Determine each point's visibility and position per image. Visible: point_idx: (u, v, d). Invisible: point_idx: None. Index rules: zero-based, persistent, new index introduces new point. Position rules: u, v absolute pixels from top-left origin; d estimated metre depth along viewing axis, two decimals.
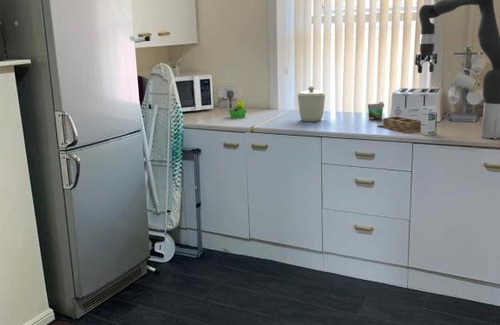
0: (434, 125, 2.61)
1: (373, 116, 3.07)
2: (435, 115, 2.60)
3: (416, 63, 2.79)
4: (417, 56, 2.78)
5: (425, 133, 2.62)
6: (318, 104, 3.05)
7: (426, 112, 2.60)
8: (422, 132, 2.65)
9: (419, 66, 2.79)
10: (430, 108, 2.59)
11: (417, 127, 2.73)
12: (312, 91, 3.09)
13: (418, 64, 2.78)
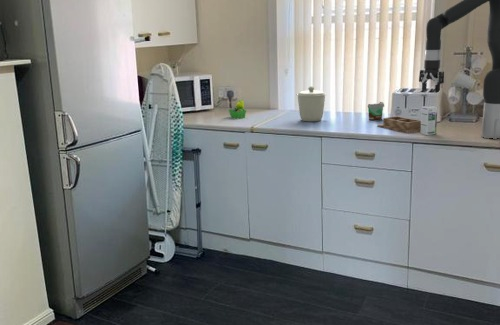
0: (434, 125, 2.61)
1: (373, 116, 3.07)
2: (435, 115, 2.60)
3: (441, 81, 2.52)
4: (442, 74, 2.51)
5: (425, 133, 2.62)
6: (318, 104, 3.05)
7: (426, 112, 2.60)
8: (422, 132, 2.65)
9: (439, 84, 2.54)
10: (430, 108, 2.59)
11: (417, 127, 2.73)
12: (312, 91, 3.09)
13: (443, 82, 2.52)
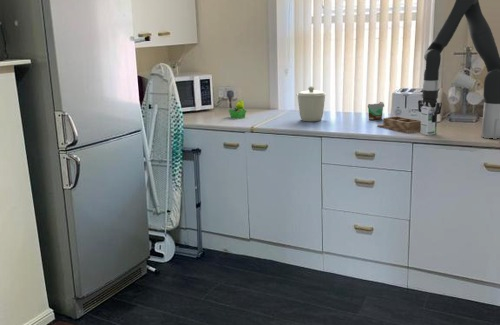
0: (434, 125, 2.61)
1: (373, 116, 3.07)
2: None
3: (438, 112, 2.56)
4: (440, 105, 2.55)
5: (425, 133, 2.62)
6: (318, 104, 3.05)
7: (426, 112, 2.60)
8: (422, 132, 2.65)
9: (436, 115, 2.58)
10: (430, 108, 2.59)
11: (417, 127, 2.73)
12: (312, 91, 3.09)
13: None
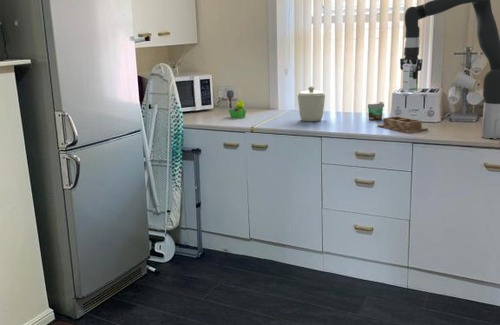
0: (415, 82, 2.68)
1: (373, 116, 3.07)
2: None
3: (419, 69, 2.63)
4: (420, 61, 2.62)
5: (407, 89, 2.69)
6: (318, 104, 3.05)
7: (407, 69, 2.67)
8: (404, 89, 2.72)
9: (417, 72, 2.66)
10: (411, 65, 2.66)
11: (417, 127, 2.73)
12: (312, 91, 3.09)
13: None
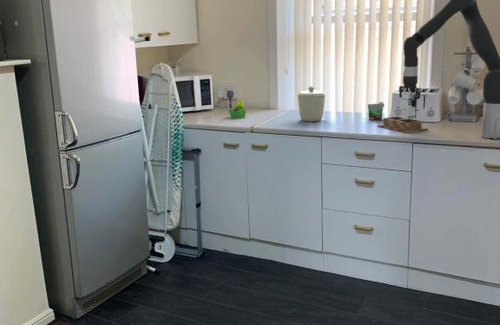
0: (414, 110, 2.72)
1: (373, 116, 3.07)
2: None
3: (417, 97, 2.67)
4: (419, 90, 2.66)
5: (406, 117, 2.73)
6: (318, 104, 3.05)
7: (406, 97, 2.70)
8: (403, 116, 2.76)
9: (416, 100, 2.69)
10: (410, 93, 2.69)
11: (417, 127, 2.73)
12: (312, 91, 3.09)
13: (419, 98, 2.68)
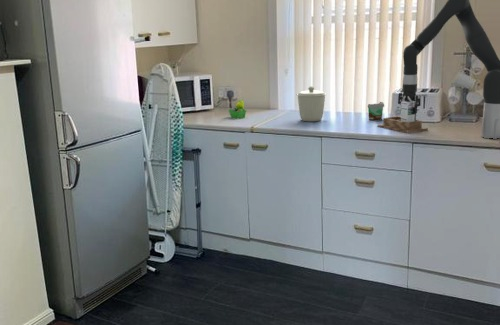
0: (413, 119, 2.74)
1: (373, 116, 3.07)
2: None
3: (418, 104, 2.67)
4: (419, 97, 2.67)
5: None
6: (318, 104, 3.05)
7: (406, 107, 2.72)
8: None
9: None
10: (409, 103, 2.71)
11: (417, 127, 2.73)
12: (312, 91, 3.09)
13: None
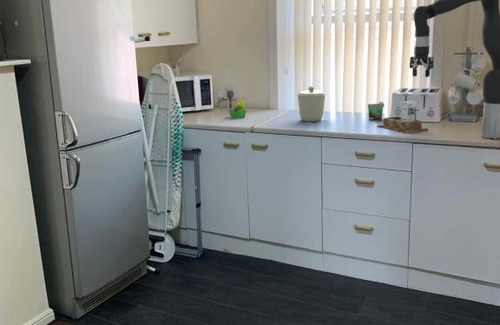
0: (413, 119, 2.74)
1: (373, 116, 3.07)
2: (415, 110, 2.73)
3: (431, 66, 2.63)
4: (431, 59, 2.63)
5: None
6: (318, 104, 3.05)
7: (406, 107, 2.72)
8: None
9: (429, 69, 2.66)
10: (409, 103, 2.71)
11: (417, 127, 2.73)
12: (312, 91, 3.09)
13: None
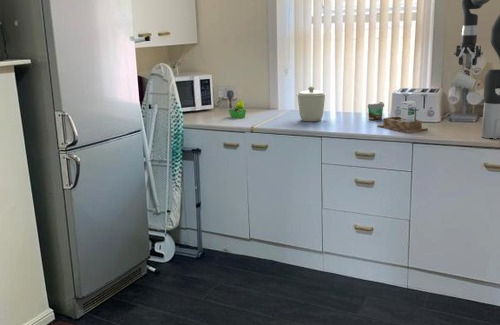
0: (413, 119, 2.74)
1: (373, 116, 3.07)
2: (415, 110, 2.73)
3: (478, 55, 2.68)
4: (479, 47, 2.68)
5: None
6: (318, 104, 3.05)
7: (406, 107, 2.72)
8: None
9: (476, 58, 2.71)
10: (409, 103, 2.71)
11: (417, 127, 2.73)
12: (312, 91, 3.09)
13: None
